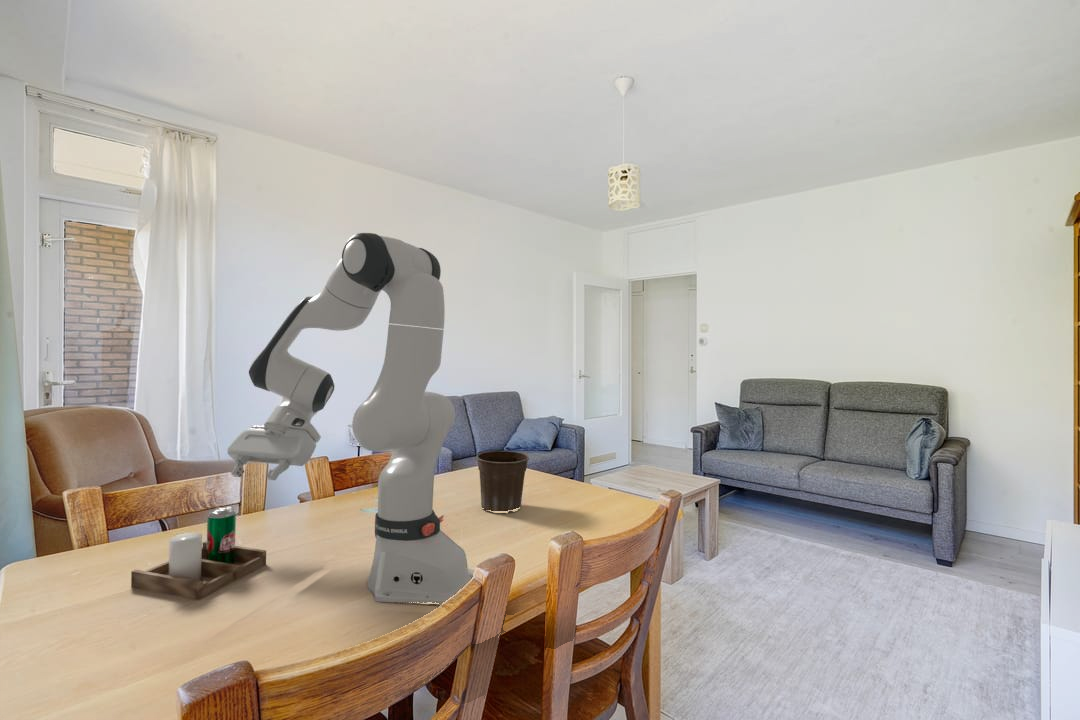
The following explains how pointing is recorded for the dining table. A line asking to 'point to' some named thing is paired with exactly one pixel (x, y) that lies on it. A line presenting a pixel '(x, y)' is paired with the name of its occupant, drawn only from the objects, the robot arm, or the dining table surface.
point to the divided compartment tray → (211, 574)
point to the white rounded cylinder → (186, 556)
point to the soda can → (221, 535)
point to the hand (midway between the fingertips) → (252, 477)
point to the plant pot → (501, 479)
